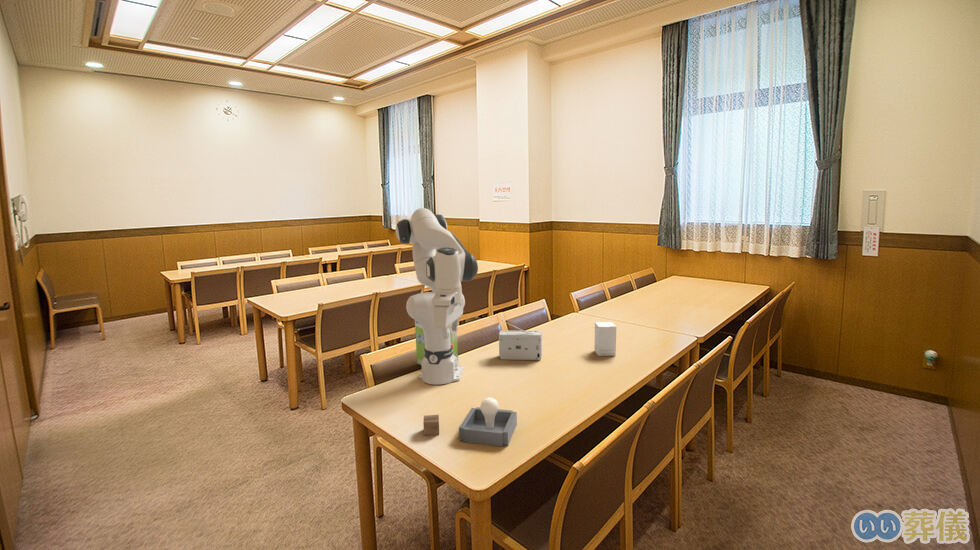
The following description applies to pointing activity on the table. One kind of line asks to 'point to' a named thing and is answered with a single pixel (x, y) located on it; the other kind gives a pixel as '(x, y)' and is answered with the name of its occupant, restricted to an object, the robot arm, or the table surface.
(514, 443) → the table surface
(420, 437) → the table surface
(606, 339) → the supplement box
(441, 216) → the robot arm
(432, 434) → the walnut block
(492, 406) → the lightbulb
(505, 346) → the stereo radio cassette player
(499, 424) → the gray square tray
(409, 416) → the table surface
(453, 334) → the toothbrush box
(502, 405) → the table surface
